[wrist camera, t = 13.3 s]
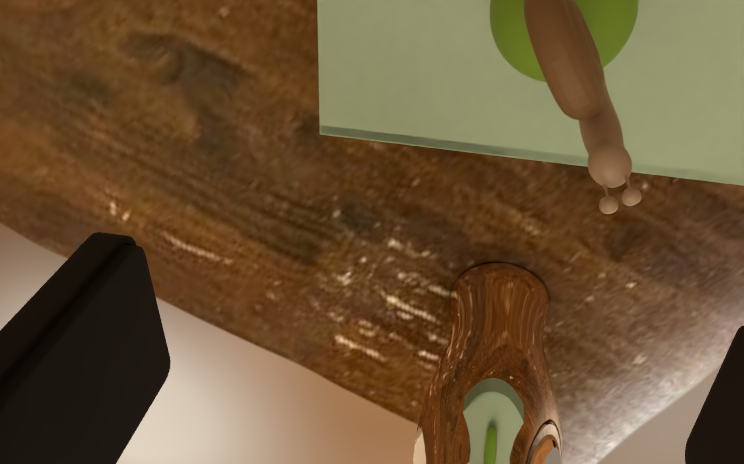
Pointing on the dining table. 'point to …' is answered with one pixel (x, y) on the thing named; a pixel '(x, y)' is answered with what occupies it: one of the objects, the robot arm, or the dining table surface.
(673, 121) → the book
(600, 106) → the snail figurine
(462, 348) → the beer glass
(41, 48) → the dining table surface
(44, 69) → the dining table surface
